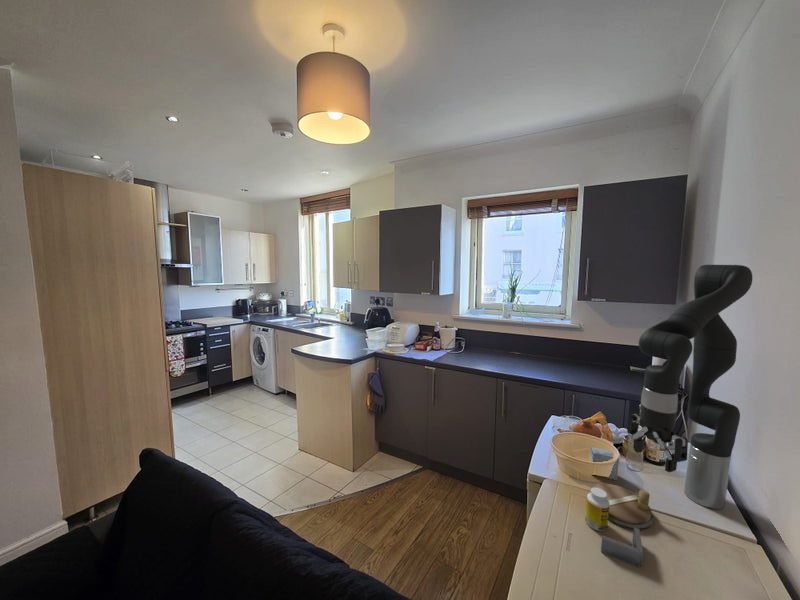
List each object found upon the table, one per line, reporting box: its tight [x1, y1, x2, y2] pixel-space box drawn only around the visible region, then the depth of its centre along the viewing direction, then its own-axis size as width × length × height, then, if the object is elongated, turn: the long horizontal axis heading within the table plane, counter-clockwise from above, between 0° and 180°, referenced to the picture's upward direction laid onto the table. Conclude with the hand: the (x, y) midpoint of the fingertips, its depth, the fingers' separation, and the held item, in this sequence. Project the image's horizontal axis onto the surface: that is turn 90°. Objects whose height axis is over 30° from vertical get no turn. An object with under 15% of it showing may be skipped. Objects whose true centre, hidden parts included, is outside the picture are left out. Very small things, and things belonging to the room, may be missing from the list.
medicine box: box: [588, 446, 620, 481], centre depth 112 cm, size 8×4×9 cm, turn 71°
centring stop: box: [600, 528, 644, 568], centre depth 82 cm, size 12×6×4 cm, turn 104°
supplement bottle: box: [584, 487, 610, 532], centre depth 91 cm, size 6×6×10 cm
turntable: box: [592, 483, 652, 525], centre depth 97 cm, size 15×15×6 cm
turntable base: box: [589, 491, 654, 531], centre depth 98 cm, size 16×16×1 cm
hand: (653, 460), depth 86 cm, fingers open, 8 cm apart
